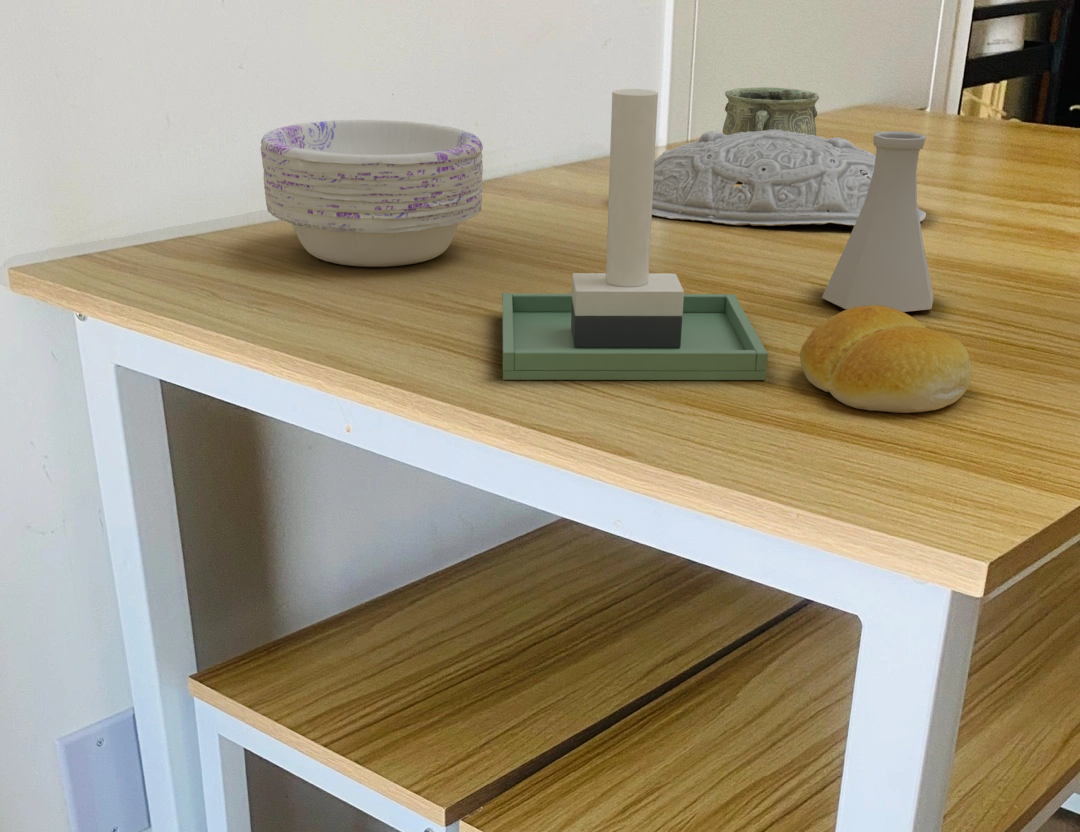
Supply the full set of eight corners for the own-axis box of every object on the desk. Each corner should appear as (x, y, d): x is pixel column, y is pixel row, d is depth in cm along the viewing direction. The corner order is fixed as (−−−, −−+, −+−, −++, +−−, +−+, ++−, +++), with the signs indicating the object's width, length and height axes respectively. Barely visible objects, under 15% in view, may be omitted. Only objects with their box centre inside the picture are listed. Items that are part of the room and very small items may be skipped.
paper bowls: (502, 274, 93) (501, 149, 89) (276, 284, 90) (264, 155, 86) (464, 226, 106) (462, 115, 102) (265, 233, 103) (254, 119, 99)
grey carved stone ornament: (920, 230, 103) (930, 133, 100) (598, 224, 110) (599, 133, 107) (930, 212, 116) (939, 126, 113) (643, 208, 123) (645, 127, 120)
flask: (833, 317, 85) (854, 144, 80) (810, 287, 91) (827, 125, 86) (949, 317, 85) (977, 145, 80) (917, 287, 91) (942, 126, 86)
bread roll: (870, 426, 68) (882, 346, 66) (775, 374, 75) (783, 300, 73) (1004, 406, 71) (1019, 328, 69) (900, 357, 78) (911, 286, 76)
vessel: (732, 152, 136) (738, 82, 132) (822, 158, 133) (830, 87, 130) (706, 173, 126) (711, 98, 123) (802, 179, 124) (810, 104, 120)
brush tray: (732, 318, 84) (734, 293, 84) (765, 380, 74) (768, 352, 73) (502, 317, 84) (502, 293, 83) (503, 380, 74) (502, 352, 73)
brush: (672, 328, 81) (687, 87, 74) (680, 348, 77) (696, 97, 70) (570, 328, 80) (576, 86, 74) (574, 348, 77) (580, 96, 70)
